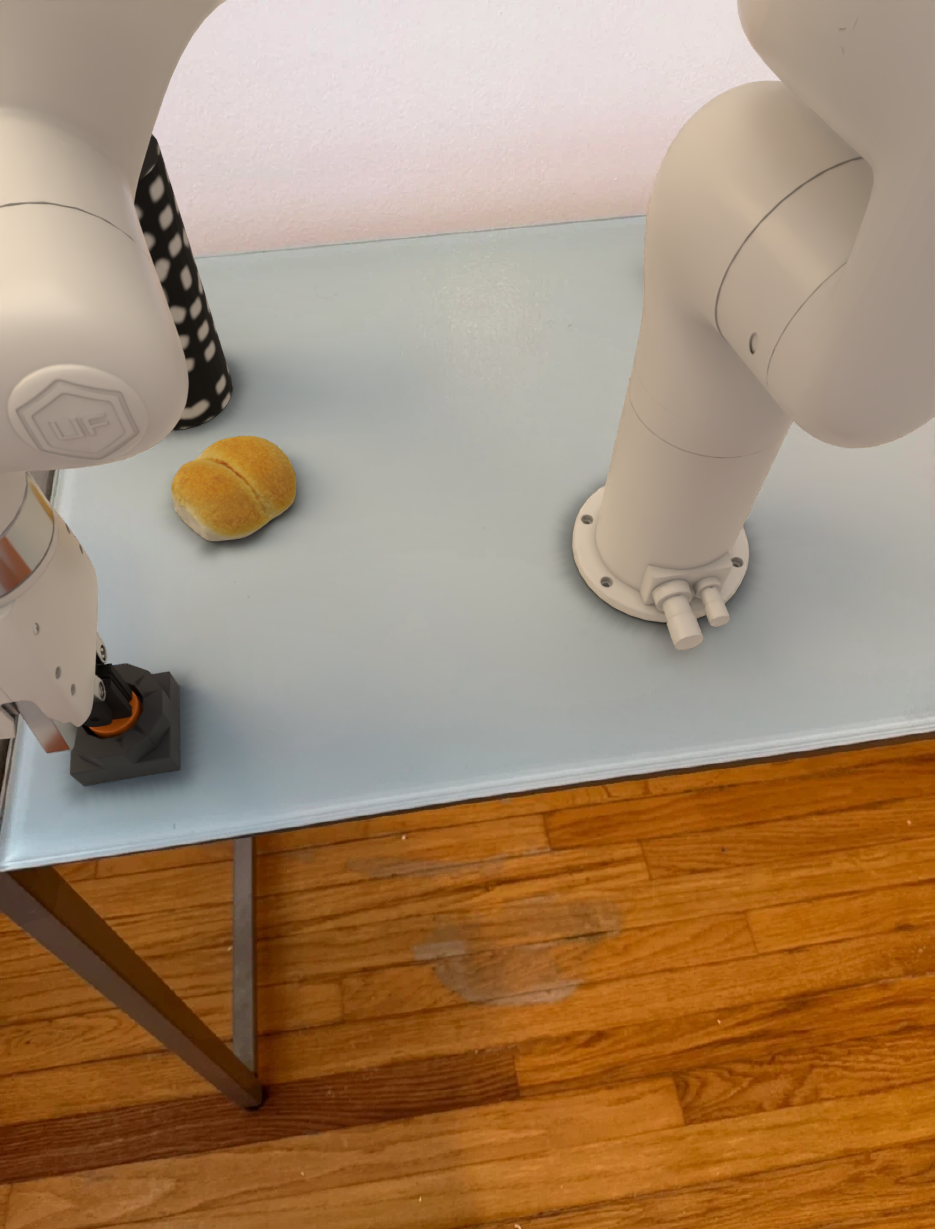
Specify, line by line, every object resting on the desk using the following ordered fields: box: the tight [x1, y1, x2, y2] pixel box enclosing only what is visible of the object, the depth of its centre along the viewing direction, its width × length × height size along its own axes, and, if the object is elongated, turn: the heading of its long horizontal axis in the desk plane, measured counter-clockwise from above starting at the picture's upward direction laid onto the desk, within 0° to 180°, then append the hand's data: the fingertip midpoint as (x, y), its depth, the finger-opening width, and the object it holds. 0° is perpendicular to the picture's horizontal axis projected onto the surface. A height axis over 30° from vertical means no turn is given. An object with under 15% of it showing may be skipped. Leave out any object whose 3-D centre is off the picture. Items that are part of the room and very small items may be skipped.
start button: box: [89, 691, 143, 739], centre depth 53 cm, size 3×3×2 cm
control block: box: [69, 662, 181, 787], centre depth 54 cm, size 6×6×4 cm
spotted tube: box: [134, 133, 234, 431], centre depth 62 cm, size 8×8×20 cm
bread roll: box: [170, 435, 297, 542], centre depth 64 cm, size 8×9×4 cm
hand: (106, 708), depth 52 cm, fingers closed
